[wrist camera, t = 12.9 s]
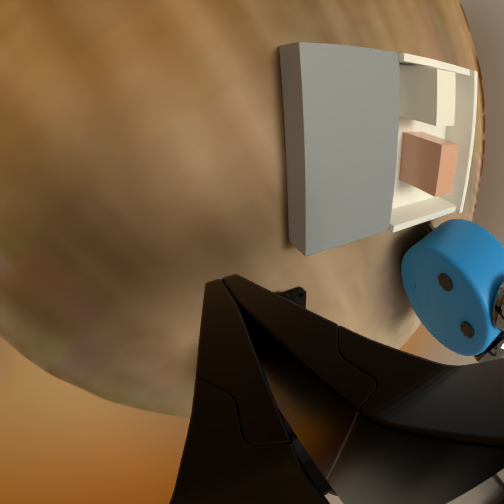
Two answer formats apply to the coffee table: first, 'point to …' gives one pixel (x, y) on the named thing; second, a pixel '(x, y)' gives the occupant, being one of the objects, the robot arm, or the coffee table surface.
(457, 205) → the tray
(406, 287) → the alarm clock
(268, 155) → the coffee table surface
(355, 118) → the slate plate
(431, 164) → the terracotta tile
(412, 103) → the cream block
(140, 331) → the coffee table surface
